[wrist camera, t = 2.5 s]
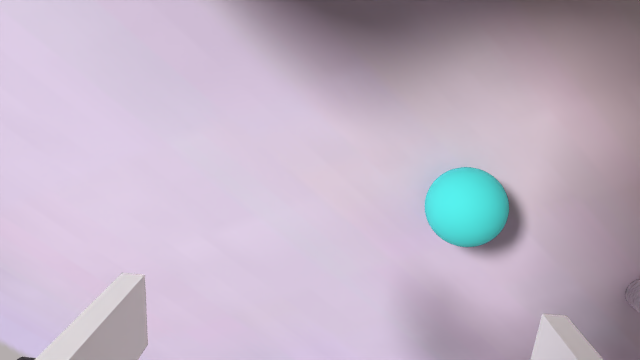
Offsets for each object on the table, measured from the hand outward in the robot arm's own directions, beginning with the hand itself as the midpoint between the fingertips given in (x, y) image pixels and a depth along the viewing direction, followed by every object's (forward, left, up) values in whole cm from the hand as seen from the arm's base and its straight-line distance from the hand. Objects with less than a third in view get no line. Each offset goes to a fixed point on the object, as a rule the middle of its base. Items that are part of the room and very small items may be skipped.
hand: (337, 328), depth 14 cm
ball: (+9, -1, -16) cm, 18 cm away
